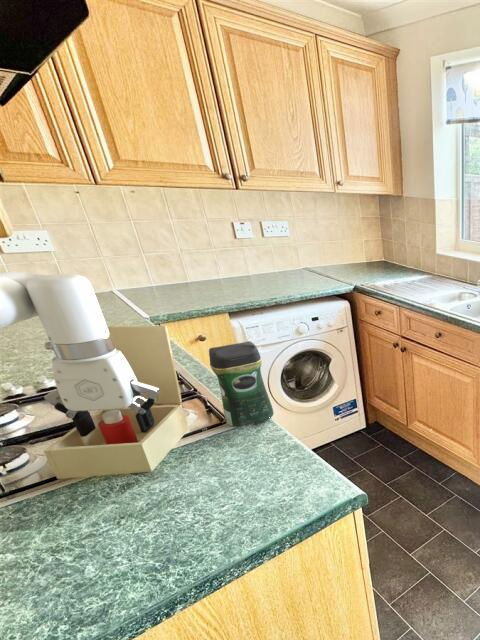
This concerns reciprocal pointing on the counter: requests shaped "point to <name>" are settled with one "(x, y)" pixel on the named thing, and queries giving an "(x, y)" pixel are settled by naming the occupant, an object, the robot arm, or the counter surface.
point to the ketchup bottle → (117, 428)
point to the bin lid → (149, 358)
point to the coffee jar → (241, 383)
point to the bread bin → (118, 446)
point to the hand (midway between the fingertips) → (119, 430)
